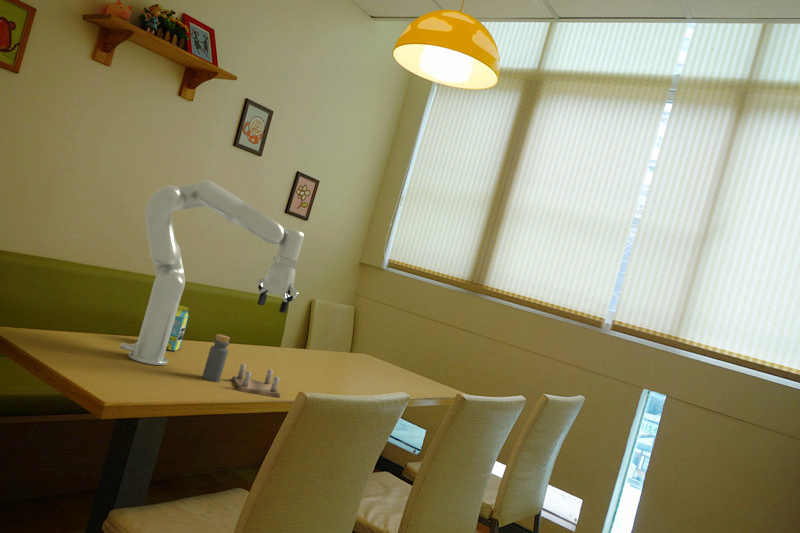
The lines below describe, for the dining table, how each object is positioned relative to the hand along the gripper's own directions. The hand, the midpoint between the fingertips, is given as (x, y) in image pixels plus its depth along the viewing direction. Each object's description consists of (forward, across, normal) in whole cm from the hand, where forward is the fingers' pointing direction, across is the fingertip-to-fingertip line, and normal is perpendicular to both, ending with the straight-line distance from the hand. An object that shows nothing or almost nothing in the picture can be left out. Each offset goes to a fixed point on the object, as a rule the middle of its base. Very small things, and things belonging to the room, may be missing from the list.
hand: (271, 308), depth 220 cm
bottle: (+27, -4, -15) cm, 32 cm away
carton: (+28, -40, -1) cm, 48 cm away
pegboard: (+27, +7, -5) cm, 28 cm away
